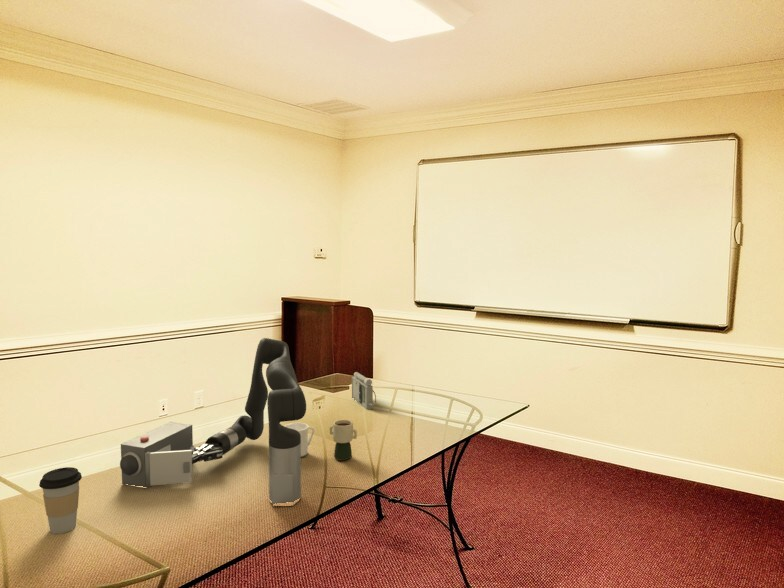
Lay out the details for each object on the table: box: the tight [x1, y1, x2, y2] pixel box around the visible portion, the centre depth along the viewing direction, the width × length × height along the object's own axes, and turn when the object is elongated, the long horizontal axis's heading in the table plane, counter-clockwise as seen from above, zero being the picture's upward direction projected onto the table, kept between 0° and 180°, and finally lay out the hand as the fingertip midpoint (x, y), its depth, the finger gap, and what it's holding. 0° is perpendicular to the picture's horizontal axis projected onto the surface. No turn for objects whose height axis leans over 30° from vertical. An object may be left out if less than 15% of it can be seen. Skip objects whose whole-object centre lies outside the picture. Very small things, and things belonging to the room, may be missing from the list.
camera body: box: [119, 421, 194, 487], centre depth 171 cm, size 24×10×14 cm, turn 162°
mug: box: [283, 422, 315, 459], centre depth 188 cm, size 11×9×10 cm
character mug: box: [329, 419, 358, 461], centre depth 185 cm, size 11×7×13 cm, turn 65°
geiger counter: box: [351, 371, 377, 410], centre depth 248 cm, size 14×6×25 cm
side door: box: [145, 450, 193, 488], centre depth 160 cm, size 13×2×10 cm, turn 102°
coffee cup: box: [38, 466, 83, 535], centre depth 137 cm, size 9×9×15 cm
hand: (188, 462), depth 165 cm, fingers closed
